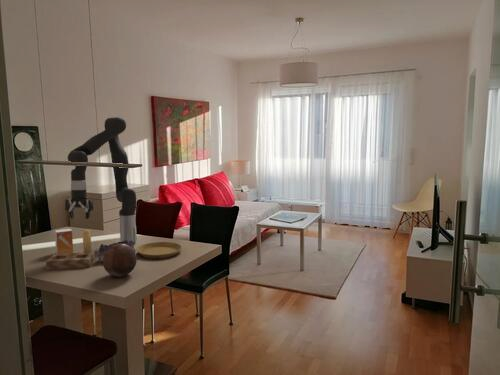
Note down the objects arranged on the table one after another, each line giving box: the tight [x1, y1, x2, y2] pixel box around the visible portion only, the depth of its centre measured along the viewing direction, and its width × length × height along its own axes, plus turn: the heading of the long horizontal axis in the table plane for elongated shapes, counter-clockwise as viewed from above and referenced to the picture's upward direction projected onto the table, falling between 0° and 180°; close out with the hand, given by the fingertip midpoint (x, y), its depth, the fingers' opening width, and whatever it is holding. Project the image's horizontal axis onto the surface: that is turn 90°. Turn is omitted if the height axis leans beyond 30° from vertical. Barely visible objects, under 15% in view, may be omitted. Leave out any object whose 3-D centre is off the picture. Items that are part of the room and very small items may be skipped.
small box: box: [54, 228, 74, 254], centre depth 218 cm, size 8×6×13 cm
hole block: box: [45, 251, 96, 270], centre depth 200 cm, size 20×12×4 cm, turn 100°
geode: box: [97, 240, 137, 264], centre depth 210 cm, size 20×12×10 cm, turn 142°
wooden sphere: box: [102, 244, 138, 278], centre depth 183 cm, size 15×15×15 cm
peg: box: [82, 229, 93, 253], centre depth 212 cm, size 4×4×14 cm
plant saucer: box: [136, 241, 182, 260], centre depth 219 cm, size 24×24×3 cm
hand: (79, 218), depth 211 cm, fingers open, 8 cm apart
